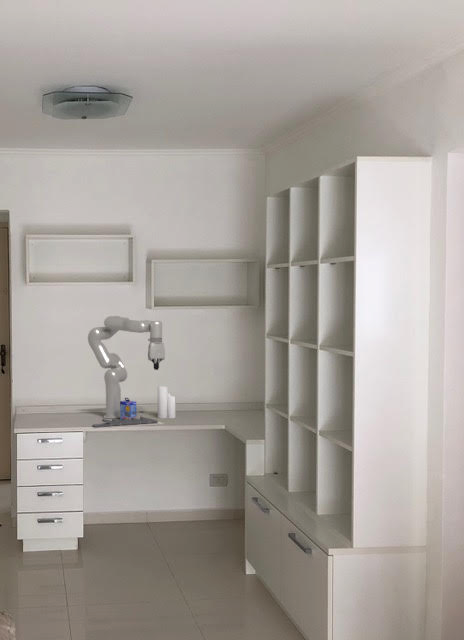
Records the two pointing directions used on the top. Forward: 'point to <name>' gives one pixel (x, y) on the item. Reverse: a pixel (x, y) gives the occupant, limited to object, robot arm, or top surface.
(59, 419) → the top surface
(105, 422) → the domino
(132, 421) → the domino
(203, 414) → the top surface
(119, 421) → the domino
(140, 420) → the domino
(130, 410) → the ink cartridge box
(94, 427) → the domino
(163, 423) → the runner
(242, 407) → the top surface
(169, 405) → the white tube cluster
